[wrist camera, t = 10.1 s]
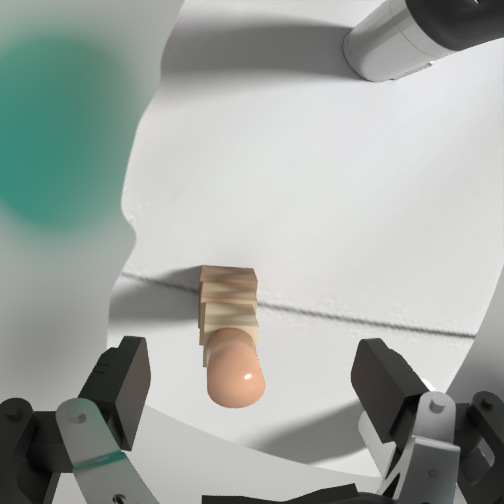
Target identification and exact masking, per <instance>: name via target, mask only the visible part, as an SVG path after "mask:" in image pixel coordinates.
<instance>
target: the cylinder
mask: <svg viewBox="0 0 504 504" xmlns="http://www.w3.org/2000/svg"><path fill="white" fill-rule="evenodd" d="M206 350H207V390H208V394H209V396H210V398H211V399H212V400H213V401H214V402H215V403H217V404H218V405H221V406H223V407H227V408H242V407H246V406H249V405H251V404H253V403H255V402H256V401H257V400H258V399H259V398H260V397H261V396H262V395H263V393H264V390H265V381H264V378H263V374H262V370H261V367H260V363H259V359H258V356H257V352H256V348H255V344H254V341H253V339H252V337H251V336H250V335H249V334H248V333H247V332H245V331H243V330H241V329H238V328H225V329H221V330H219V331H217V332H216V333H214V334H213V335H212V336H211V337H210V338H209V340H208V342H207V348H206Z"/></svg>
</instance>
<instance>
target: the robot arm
mask: <svg viewBox="0 0 504 504" xmlns="http://www.w3.org/2000/svg"><path fill="white" fill-rule="evenodd" d="M477 2H478V3H477ZM477 2H475V1H474V0H386V1H385V2H384V3H382V4H381V5H380V6H379V7H378V8H377V9H375V10H374V11H373V12H372V13H371V14H370V15H369V16H367V17H366V18H365V19H364V20H363V21H362V22H361V23H360V24H358V25H357V26H356V27H355V28H354V29H353V30H352V31H351V32H350V33H349V34H348V35H347V36H346V37H345V40H344V43H343V51H344V55H345V58H346V60H347V62H348V64H349V65H350V66H351V68H352V69H353V70H354V71H355V72H356V73H357V74H359V75H360V76H361V77H363V78H365V79H367V80H370V81H373V82H384V81H387V80H389V79H394V80H397V79H400V78H402V77H405V76H407V75H410V74H412V73H415V72H417V71H420V70H422V69H425V68H428V67H430V66H432V64H433V61H435V60H438V59H440V58H443V57H445V56H448V55H451V54H453V53H456V52H459V51H462V50H464V49H467V48H470V47H473V46H476V45H479V44H482V43H485V42H488V41H492V40H495V39H499V38H503V37H504V0H477ZM150 381H151V371H150V364H149V358H148V350H147V343H146V339H145V338H144V337H136V336H124V337H123V339H122V341H121V343H120V345H119V347H118V348H114V347H111V348H109V349H108V350H107V351H105V352H104V353H103V354H101V356H100V358H99V360H98V361H97V364H96V365H95V367H94V368H93V370H92V372H91V374H90V376H89V377H88V379H87V381H86V383H85V385H84V386H83V388H82V390H81V392H80V394H79V396H78V397H77V398H73V399H70V400H67V401H65V402H63V403H62V404H61V405H60V406H59V407H58V409H57V410H56V411H33V409H32V407H31V405H30V403H29V402H28V401H26V400H24V399H22V398H11V399H7V400H6V401H4V402H2V403H1V404H0V504H52V501H53V497H54V494H55V491H56V487H57V484H58V481H59V477H60V474H61V473H73V474H74V476H75V478H76V481H77V483H78V485H79V487H80V490H81V492H82V494H83V496H84V498H85V500H86V502H87V504H159V502H158V501H157V500H156V498H155V497H154V496H153V494H152V493H151V492H150V490H149V489H148V487H147V486H146V485H145V483H144V482H143V480H142V479H141V477H140V476H139V474H138V473H137V471H136V470H135V468H134V467H133V465H132V464H131V462H130V460H129V459H128V457H127V456H126V454H125V453H124V452H122V451H121V450H126V451H131V450H132V446H133V442H134V439H135V435H136V432H137V428H138V425H139V421H140V418H141V414H142V410H143V407H144V404H145V400H146V397H147V394H148V390H149V387H150ZM351 383H352V386H353V388H354V390H355V392H356V394H357V396H358V397H359V399H360V401H361V403H362V405H363V407H364V409H365V411H366V413H367V415H368V417H369V419H370V421H371V423H372V425H373V427H374V429H375V430H376V432H377V434H378V436H379V438H380V440H381V442H382V444H385V443H389V442H393V441H394V442H395V444H396V446H395V447H394V449H393V451H392V454H391V457H390V460H389V463H388V466H387V469H386V471H385V474H384V477H383V479H382V482H381V484H380V486H379V489H378V490H377V492H376V494H373V493H367V492H358V491H357V489H356V486H355V483H353V484H348V485H343V486H338V487H333V488H326V489H320V490H317V491H315V492H312V493H309V494H306V495H303V496H301V497H298V498H295V499H291V500H288V501H284V502H277V501H270V500H262V499H256V498H250V497H244V496H208V495H202V504H453V500H454V495H455V489H456V483H457V484H458V486H459V488H460V490H461V492H462V494H463V496H464V498H465V500H466V502H467V504H504V403H503V402H502V401H501V400H500V398H499V397H498V396H496V395H494V394H493V393H490V392H487V391H481V392H478V393H476V394H475V395H474V397H473V399H472V401H471V402H470V403H461V404H455V403H454V401H453V400H452V399H451V398H450V397H449V396H448V395H446V394H444V393H441V392H437V391H430V390H429V389H428V388H427V387H426V385H425V384H424V383H423V382H422V380H421V379H420V378H419V377H418V375H417V374H416V373H415V372H414V371H413V369H412V368H411V367H410V365H408V363H407V362H406V360H405V359H404V358H403V357H402V356H401V355H400V354H398V353H397V352H395V351H394V350H392V349H389V348H388V347H387V346H386V344H385V343H384V342H383V341H382V339H380V338H372V339H362V340H361V341H360V342H359V345H358V348H357V352H356V356H355V360H354V363H353V367H352V371H351ZM483 439H485V441H486V442H487V444H488V445H489V447H490V448H491V450H492V451H493V453H494V456H495V461H494V464H493V466H492V467H490V465H489V463H488V462H487V460H486V459H485V457H484V456H483V454H482V453H481V451H480V450H479V448H478V446H479V445H480V444H481V442H482V441H483Z"/></svg>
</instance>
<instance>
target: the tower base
mask: <svg viewBox="0 0 504 504" xmlns="http://www.w3.org/2000/svg"><path fill="white" fill-rule="evenodd" d="M203 281H209V282H223V283H239V284H252V285H253V288H254V291H255V295H256V291H257V282H258V281H257V278H256V275H255V272H254V269H253V268H237V267H222V266H207V265H202V269H201V275H200V292H199V320H198V328H200V313H201V295H202V287H203Z"/></svg>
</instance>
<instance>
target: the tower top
mask: <svg viewBox="0 0 504 504" xmlns="http://www.w3.org/2000/svg"><path fill="white" fill-rule="evenodd" d="M225 328H238V329H241V330H243V331H245V332H247V333H248V334H249V335H250V336H251V337H252V339H253V341H254V344H255V348H256V343H257V335H258V323H257V319H256V315H255V311H254V307H253V304H236V303H219V302H206V311H205V325H204V351H203V367H207V350H206V348H207V342H208V340H209V338H210V337H211V336H212V335H213V334H214V333H216V332H217V331H219V330H221V329H225Z"/></svg>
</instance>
